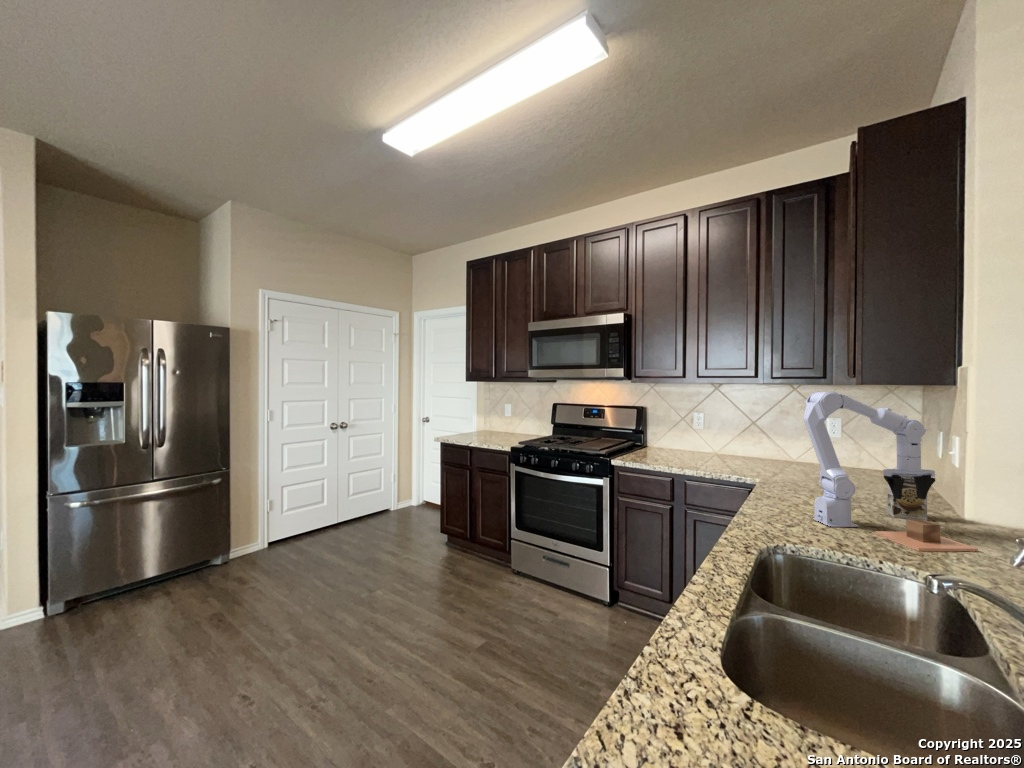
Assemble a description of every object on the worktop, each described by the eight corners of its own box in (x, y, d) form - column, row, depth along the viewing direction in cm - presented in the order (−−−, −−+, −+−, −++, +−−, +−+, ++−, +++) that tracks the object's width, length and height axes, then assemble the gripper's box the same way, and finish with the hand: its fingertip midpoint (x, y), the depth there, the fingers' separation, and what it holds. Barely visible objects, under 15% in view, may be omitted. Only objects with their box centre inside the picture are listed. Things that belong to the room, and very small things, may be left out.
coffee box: (893, 517, 145) (892, 471, 146) (887, 513, 151) (886, 468, 151) (928, 521, 141) (927, 473, 141) (920, 516, 147) (920, 470, 147)
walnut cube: (923, 542, 119) (922, 524, 119) (906, 536, 124) (906, 519, 124) (940, 542, 119) (940, 524, 119) (923, 536, 124) (923, 519, 124)
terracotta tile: (918, 551, 114) (918, 548, 115) (875, 533, 128) (875, 531, 129) (978, 551, 114) (978, 548, 114) (928, 534, 128) (928, 531, 128)
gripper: (897, 458, 131) (897, 501, 130) (944, 458, 130) (945, 502, 130) (877, 454, 138) (878, 496, 138) (922, 455, 138) (923, 496, 137)
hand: (909, 498), depth 134 cm, fingers open, 7 cm apart
